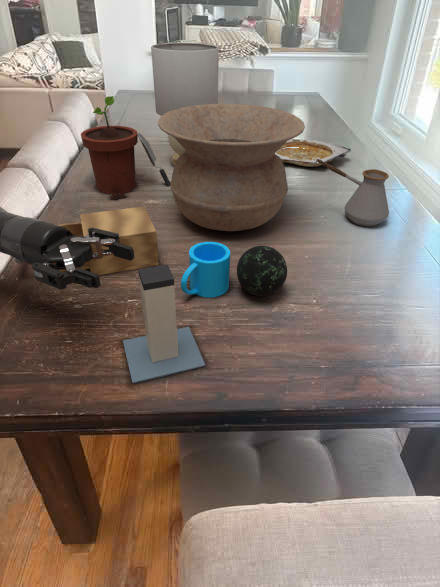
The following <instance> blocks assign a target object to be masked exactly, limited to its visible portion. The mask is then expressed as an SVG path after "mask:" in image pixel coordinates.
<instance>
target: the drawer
mask: <svg viewBox="0 0 440 587" xmlns="http://www.w3.org/2000/svg"><path fill="white" fill-rule="evenodd" d="M57 225H59V226H62V227H65V228H66V229H68V230H69V231H70V232H71V233H72V234H73V235H74V236H84V235H83V230H82V224H81V221H75V222H66V223H59V224H57ZM15 263H16V264H19V265H20V264H21V265H22V264H23V263H24V262H23V261H20V260H18V259H16V258H15ZM77 269H78V267H77V268H75V270H77ZM80 269H83V270H90V266H89V261H88V262H86V263H85V264H84V265H83V266H81V267H80ZM59 271H61V272H63V273H64V272H65V269H61V270H59Z"/></svg>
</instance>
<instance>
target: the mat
mask: <svg viewBox="0 0 440 587" xmlns="http://www.w3.org/2000/svg"><path fill="white" fill-rule="evenodd" d="M177 339H178V357H174V358H170V359H166V360H161V361H157V362H153V363H152V361H151V357H150V354H149V350H148V347H147V339H146V335H142V336H137V337H133V338H128V339H123V340H122V344H123V349H124V353H125V357H126V362H127V366H128V370H129V374H130V379H131V383H132V385H135V384H139V383H143V382H147V381H151V380H155V379H158V378H159V379H160V378H163V377H167V376H171V375H176V374H181V373H185V372H189V371H193V370H197V369H201V368H205V367H206V363H205V361H204V359H203V356H202V354H201V352H200V349H199V347H198V344H197V341H196V340H195V338H194V335H193V332H192V331H191V328H190V326H183V327H180V328H177Z"/></svg>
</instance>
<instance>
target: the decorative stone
mask: <svg viewBox="0 0 440 587" xmlns="http://www.w3.org/2000/svg"><path fill="white" fill-rule="evenodd" d="M236 277H237V280H238V283H239V285H241V287H242V288H243V289H244V291H246V292H247V293H249V294H250V295H253V296H257V297H267V296H270V295H273V294H275V293H276V292H278V291H279V290H281V288H282V287H283V285H284V284H285V282H286V280H287V277H288V264H287V262H286V259H285V258H284V256H283V255H282V253H280V252H279V250H277V249H276V248H274V247H272V246H268V245H256V246H252V247H250V248H248V249H247V250H245V251H244V253H243V254H242V255H241V256H240V257H239V260H238V262H237V265H236Z"/></svg>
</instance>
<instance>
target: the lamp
mask: <svg viewBox="0 0 440 587" xmlns="http://www.w3.org/2000/svg"><path fill="white" fill-rule="evenodd" d="M150 53H151V67H152V79H153V80H152V81H153V91H154V92H153V93H154V105H155V113H156V114H157V115H159V116H160V117H161V116H162V115H164V114H165V113H167V112H169V111H172V110H175V109H179V108H183V107H188V106H194V105H204V104H219V67H220V66H219V65H220V64H219V62H220V60H219V59H220V58H219V57H220V47H219V46H218V45H215V44H211V43H203V42H202V43H201V42H180V41H179V42H163V43H155V44H153V45H150ZM167 139H168V144H169V146H170V148H171V150H172V151H173V152H174V154H173V155H172V156H171V157H172V166H173V167H174V166H175V164H176V162H177V160H178V158H179V156H181V155H182V154H183V153H184V152H185V151H186V150H185V149H184V148H183V147H182V146H181V144H180V143H179V142H178V141H177V140H176V139H175V138H174V137H173V136H171V135H168V134H167Z"/></svg>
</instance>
